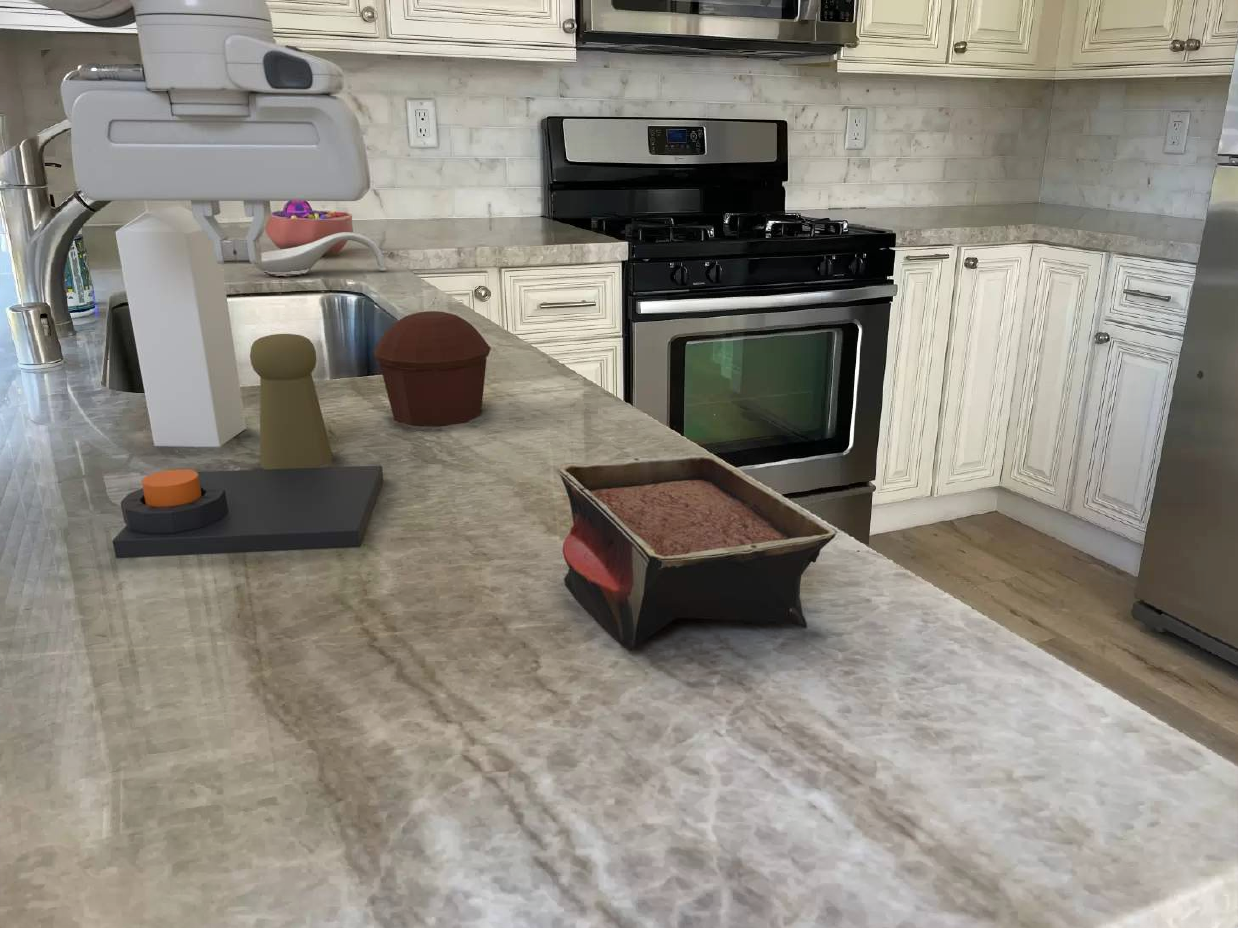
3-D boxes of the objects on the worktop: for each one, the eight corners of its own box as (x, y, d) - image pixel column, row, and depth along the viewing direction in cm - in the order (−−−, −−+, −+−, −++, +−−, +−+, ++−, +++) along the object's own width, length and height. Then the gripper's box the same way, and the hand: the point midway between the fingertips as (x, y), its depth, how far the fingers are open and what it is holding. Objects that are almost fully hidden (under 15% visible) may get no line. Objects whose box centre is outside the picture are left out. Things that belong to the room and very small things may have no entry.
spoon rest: (252, 280, 180) (246, 239, 177) (252, 271, 190) (246, 231, 187) (389, 275, 188) (385, 235, 185) (382, 266, 198) (379, 228, 195)
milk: (154, 447, 91) (104, 192, 83) (185, 428, 97) (141, 186, 89) (221, 448, 91) (178, 192, 83) (248, 428, 97) (210, 187, 89)
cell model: (299, 264, 200) (292, 204, 196) (250, 254, 212) (242, 197, 208) (374, 256, 211) (369, 199, 207) (324, 247, 224) (318, 194, 220)
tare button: (138, 510, 70) (133, 487, 69) (155, 492, 73) (151, 469, 72) (193, 508, 70) (189, 485, 70) (208, 490, 74) (204, 468, 73)
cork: (247, 461, 88) (228, 335, 84) (311, 446, 92) (297, 325, 88) (280, 477, 84) (263, 346, 80) (346, 461, 88) (333, 336, 84)
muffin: (478, 431, 97) (472, 327, 93) (364, 429, 97) (353, 325, 94) (503, 399, 108) (498, 305, 104) (400, 397, 108) (392, 303, 105)
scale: (111, 559, 69) (103, 518, 67) (175, 488, 81) (169, 453, 80) (359, 548, 71) (355, 508, 70) (383, 481, 84) (380, 446, 83)
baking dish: (739, 566, 74) (726, 431, 71) (866, 645, 57) (853, 473, 55) (547, 609, 69) (525, 467, 67) (624, 708, 53) (599, 524, 50)
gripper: (35, 60, 68) (77, 269, 73) (350, 66, 71) (369, 267, 76) (74, 64, 74) (110, 258, 79) (363, 69, 76) (381, 256, 81)
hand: (239, 263), depth 77 cm, fingers closed
